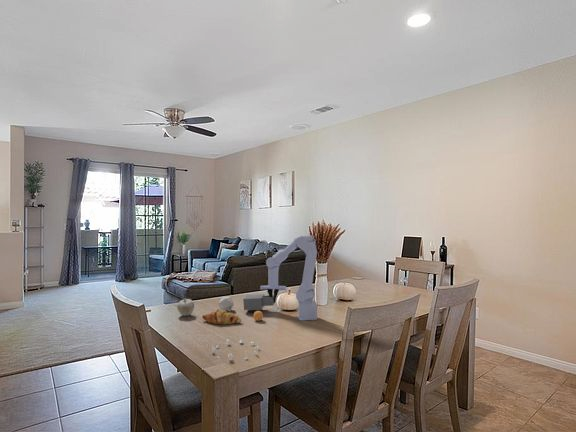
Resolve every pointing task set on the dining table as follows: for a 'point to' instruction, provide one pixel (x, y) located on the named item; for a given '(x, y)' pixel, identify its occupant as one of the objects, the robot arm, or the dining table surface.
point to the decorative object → (185, 307)
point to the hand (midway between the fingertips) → (273, 302)
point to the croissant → (221, 317)
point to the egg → (258, 315)
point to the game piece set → (231, 354)
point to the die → (226, 303)
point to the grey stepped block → (257, 301)
